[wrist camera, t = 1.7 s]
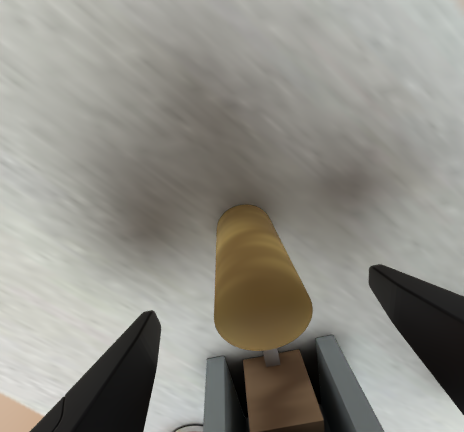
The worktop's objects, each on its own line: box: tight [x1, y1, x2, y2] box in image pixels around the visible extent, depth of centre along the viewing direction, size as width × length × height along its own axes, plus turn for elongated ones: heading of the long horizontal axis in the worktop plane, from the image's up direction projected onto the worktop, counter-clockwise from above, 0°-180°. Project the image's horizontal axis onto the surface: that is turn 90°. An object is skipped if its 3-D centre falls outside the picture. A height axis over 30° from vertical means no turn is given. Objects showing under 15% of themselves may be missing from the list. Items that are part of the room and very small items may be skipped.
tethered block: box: [214, 204, 325, 432], centre depth 14 cm, size 5×19×7 cm, turn 12°
